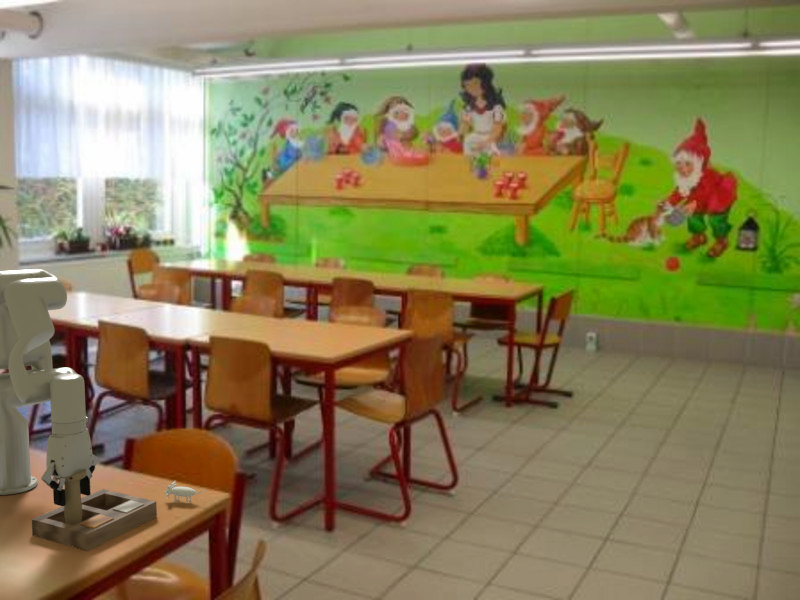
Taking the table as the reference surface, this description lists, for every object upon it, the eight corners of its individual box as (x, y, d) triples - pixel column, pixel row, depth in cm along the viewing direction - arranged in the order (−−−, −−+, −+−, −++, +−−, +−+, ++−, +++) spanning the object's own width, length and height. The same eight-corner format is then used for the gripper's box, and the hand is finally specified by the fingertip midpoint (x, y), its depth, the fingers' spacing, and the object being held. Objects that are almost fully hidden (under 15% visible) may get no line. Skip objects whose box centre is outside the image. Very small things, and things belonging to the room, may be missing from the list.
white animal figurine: (160, 503, 213) (160, 486, 213) (170, 496, 219) (170, 479, 218) (203, 508, 211) (202, 490, 210) (212, 500, 216) (211, 483, 215)
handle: (87, 534, 194) (85, 473, 192) (58, 537, 192) (56, 476, 190) (88, 525, 199) (86, 466, 197) (60, 528, 197) (57, 469, 195)
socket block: (32, 535, 193) (31, 518, 193) (103, 503, 213) (103, 487, 212) (87, 551, 185) (86, 533, 185) (156, 516, 205) (156, 500, 204)
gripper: (86, 415, 201) (89, 485, 204) (26, 434, 186) (30, 509, 188) (109, 419, 198) (111, 490, 200) (49, 439, 183) (53, 515, 185)
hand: (72, 499), depth 194 cm, fingers open, 6 cm apart
